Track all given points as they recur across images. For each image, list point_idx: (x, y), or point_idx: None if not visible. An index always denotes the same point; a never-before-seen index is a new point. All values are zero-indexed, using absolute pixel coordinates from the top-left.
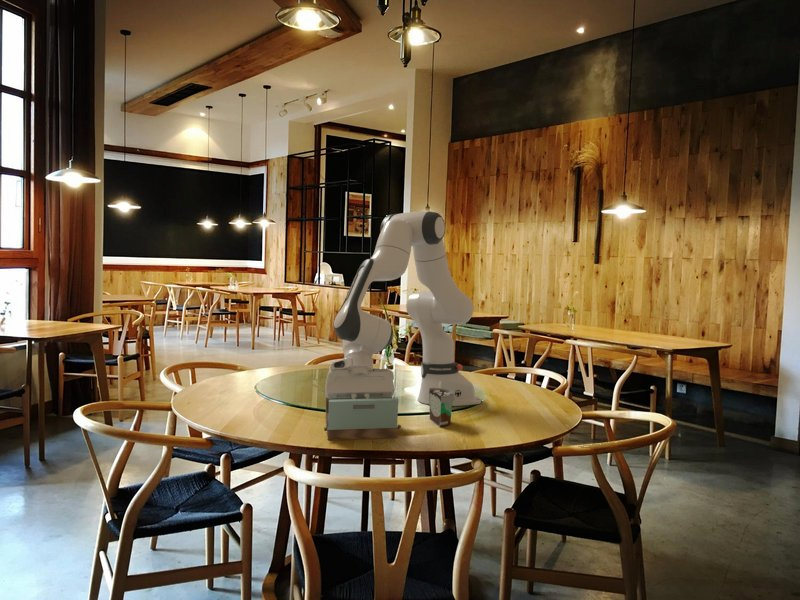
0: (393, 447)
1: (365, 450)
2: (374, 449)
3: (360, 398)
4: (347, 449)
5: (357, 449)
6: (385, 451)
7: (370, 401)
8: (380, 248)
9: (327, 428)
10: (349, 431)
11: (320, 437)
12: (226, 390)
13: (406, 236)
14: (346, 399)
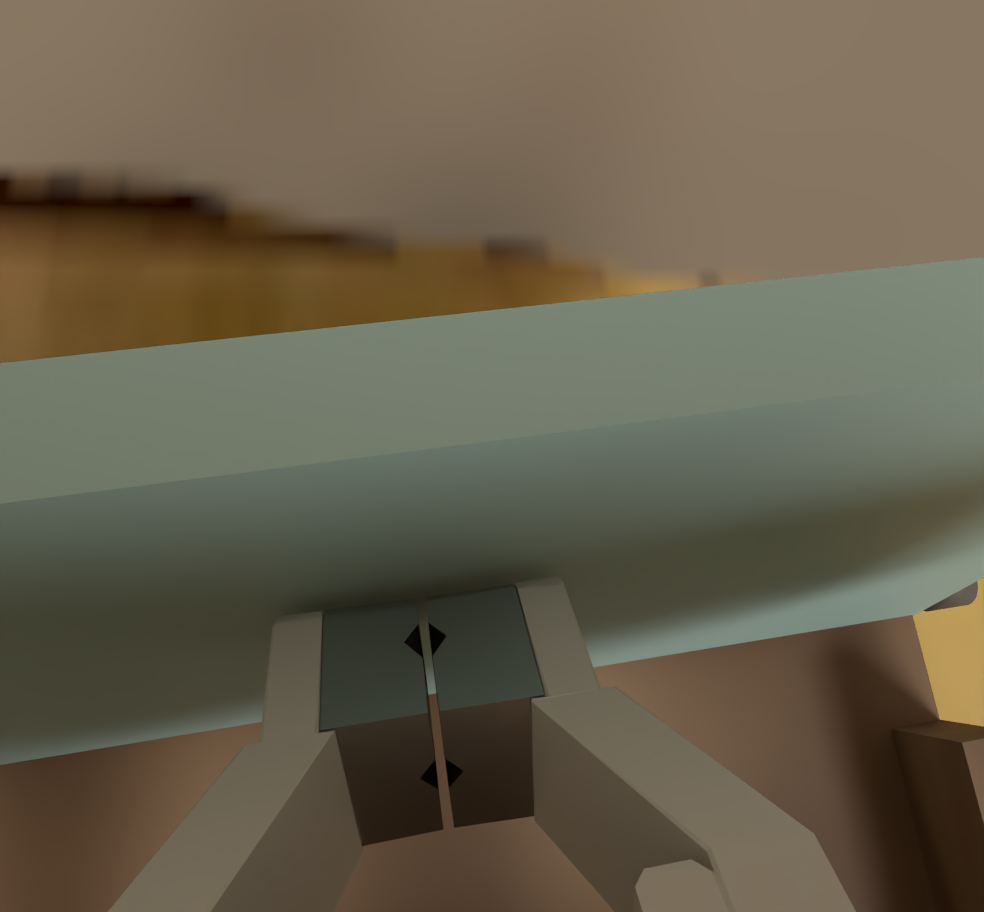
0: (21, 330)
1: (357, 231)
2: (255, 262)
3: None
4: (555, 265)
5: (447, 264)
6: (132, 197)
7: (80, 376)
8: None
9: (924, 683)
10: None
11: (937, 708)
12: None
13: None
14: (930, 375)
